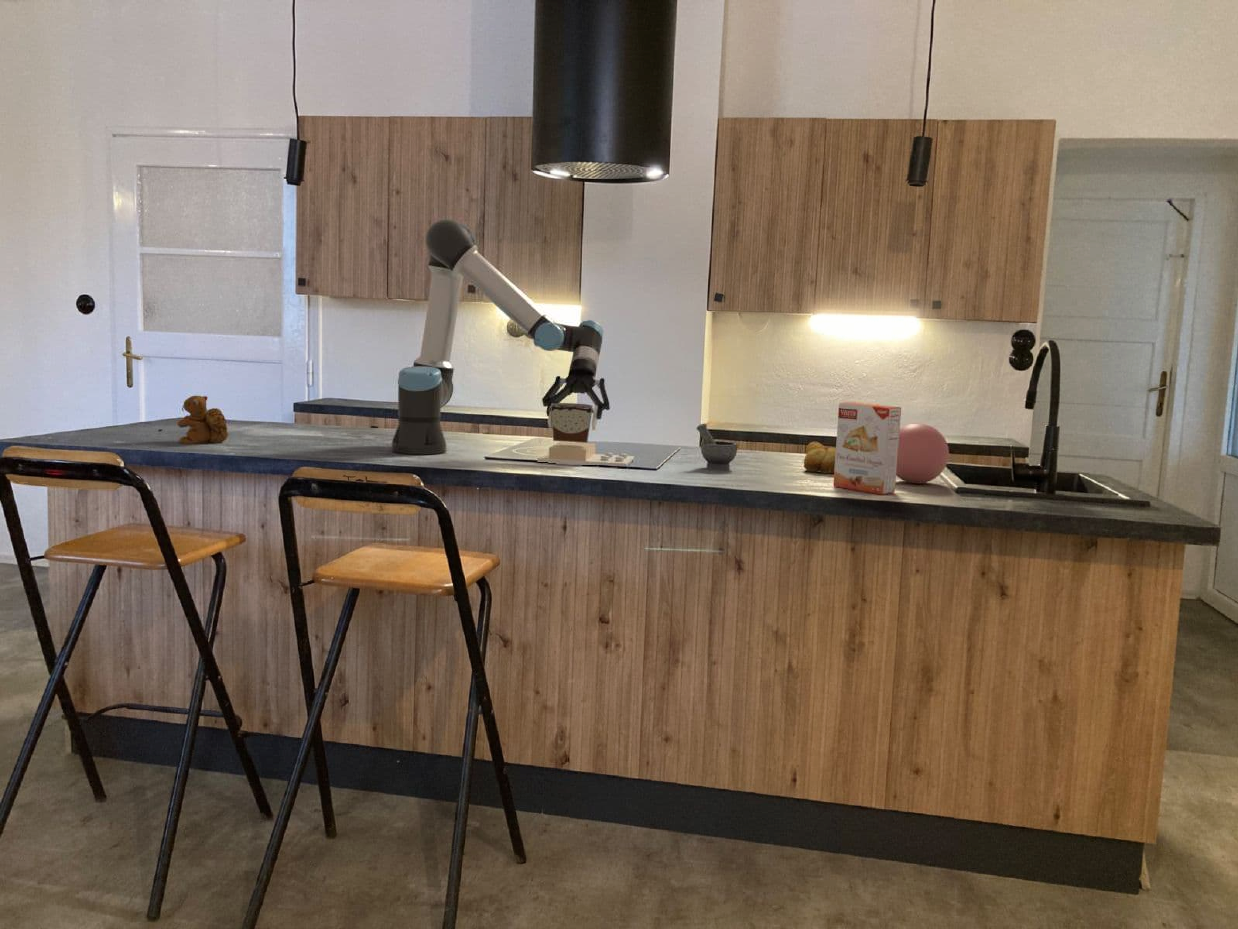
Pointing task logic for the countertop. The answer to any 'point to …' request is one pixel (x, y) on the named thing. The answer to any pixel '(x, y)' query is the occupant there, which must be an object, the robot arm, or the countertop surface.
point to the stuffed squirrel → (202, 422)
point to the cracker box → (867, 447)
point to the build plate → (589, 462)
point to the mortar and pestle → (716, 450)
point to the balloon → (921, 453)
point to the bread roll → (820, 458)
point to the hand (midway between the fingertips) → (571, 425)
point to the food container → (571, 421)
